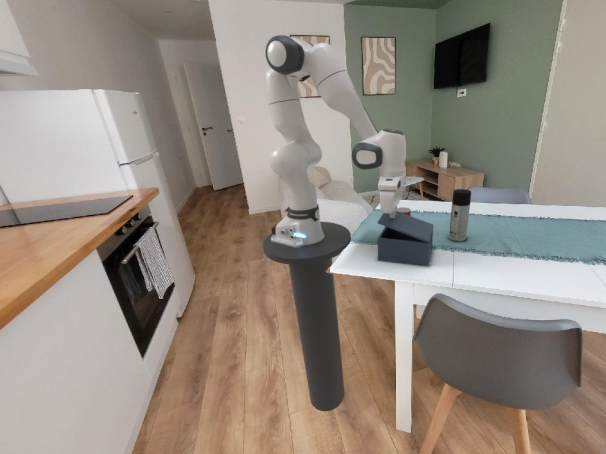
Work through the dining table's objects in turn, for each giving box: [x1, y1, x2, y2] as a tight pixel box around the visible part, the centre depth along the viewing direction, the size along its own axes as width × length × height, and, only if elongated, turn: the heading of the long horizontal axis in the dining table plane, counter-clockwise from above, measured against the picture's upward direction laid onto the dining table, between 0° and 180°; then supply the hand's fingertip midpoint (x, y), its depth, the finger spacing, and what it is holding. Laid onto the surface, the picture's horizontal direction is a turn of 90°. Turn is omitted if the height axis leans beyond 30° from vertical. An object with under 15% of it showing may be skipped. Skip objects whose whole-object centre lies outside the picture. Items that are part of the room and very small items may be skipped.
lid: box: [376, 211, 434, 243], centre depth 103 cm, size 18×15×1 cm
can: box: [397, 206, 412, 216], centre depth 119 cm, size 6×6×12 cm
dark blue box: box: [377, 226, 434, 267], centre depth 106 cm, size 18×15×9 cm
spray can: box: [448, 188, 472, 243], centre depth 114 cm, size 7×7×20 cm
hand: (393, 216), depth 104 cm, fingers closed, pressing on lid
